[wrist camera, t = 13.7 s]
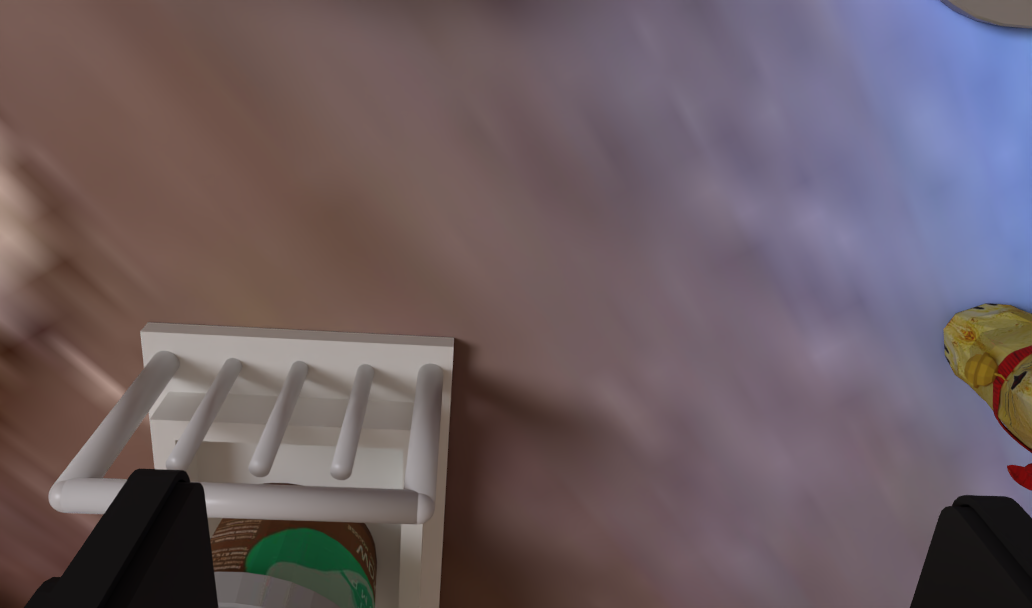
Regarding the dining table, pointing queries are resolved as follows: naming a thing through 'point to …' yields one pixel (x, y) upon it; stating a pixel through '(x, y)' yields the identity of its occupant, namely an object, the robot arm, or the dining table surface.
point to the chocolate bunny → (997, 367)
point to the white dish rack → (294, 436)
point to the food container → (293, 564)
